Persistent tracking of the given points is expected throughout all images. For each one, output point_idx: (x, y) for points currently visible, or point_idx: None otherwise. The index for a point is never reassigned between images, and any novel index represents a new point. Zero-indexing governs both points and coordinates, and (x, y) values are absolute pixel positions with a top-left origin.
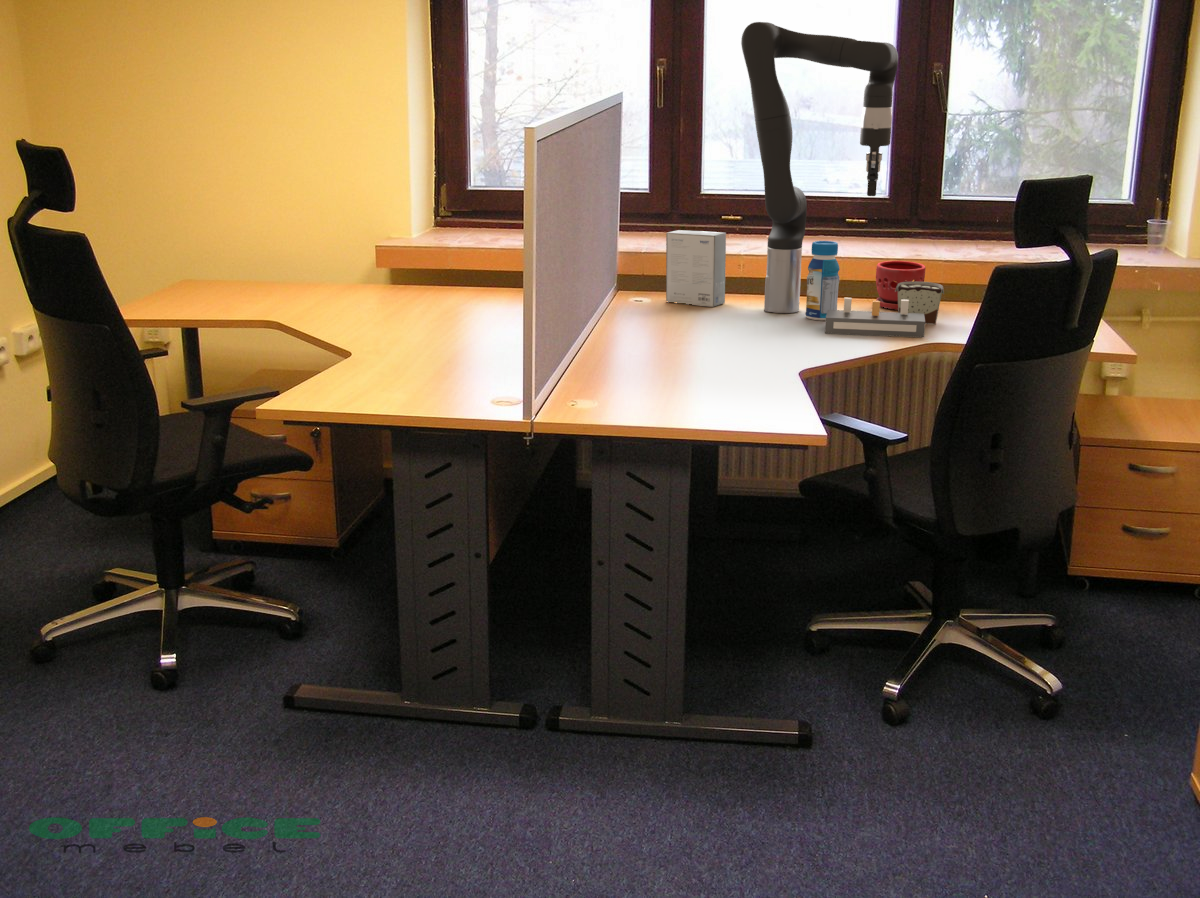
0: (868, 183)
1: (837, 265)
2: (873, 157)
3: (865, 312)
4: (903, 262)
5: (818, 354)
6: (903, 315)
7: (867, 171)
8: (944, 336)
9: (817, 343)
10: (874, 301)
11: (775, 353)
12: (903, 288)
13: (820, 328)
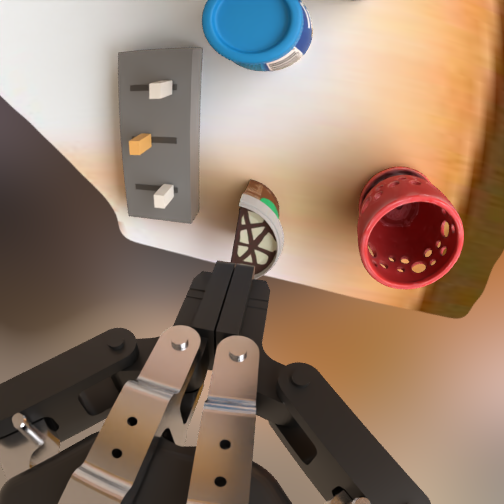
0: (195, 317)
1: (241, 64)
2: (6, 467)
3: (178, 122)
4: (451, 258)
5: (21, 70)
6: None
7: (130, 383)
8: (156, 232)
9: (69, 53)
10: (131, 144)
11: (18, 20)
12: (239, 212)
13: (172, 38)
